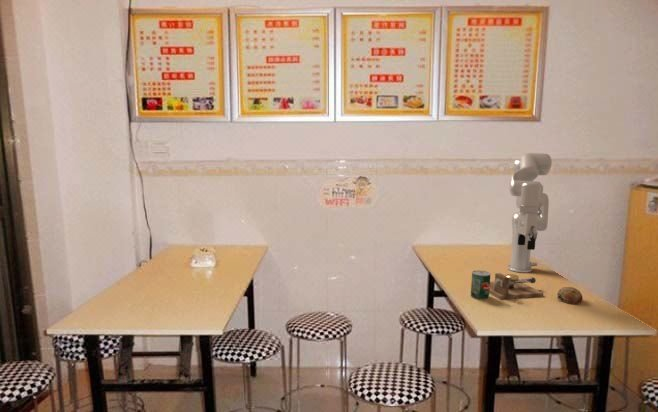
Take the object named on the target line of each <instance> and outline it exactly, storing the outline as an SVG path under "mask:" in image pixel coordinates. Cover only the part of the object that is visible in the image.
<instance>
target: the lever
mask: <svg viewBox="0 0 658 412" xmlns="http://www.w3.org/2000/svg"><path fill="white" fill-rule="evenodd" d="M504 275H505V276H507V277H509V288H510V289H511V288H514V283H523V284H527V283H529V284H530V283H531V284H535V283H536V278H535V277H533V276H531V277H529V278H520V276H518V275H516V274H512V273H510V274H509V273H507V274H504ZM519 278H520V279H519Z"/></svg>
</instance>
